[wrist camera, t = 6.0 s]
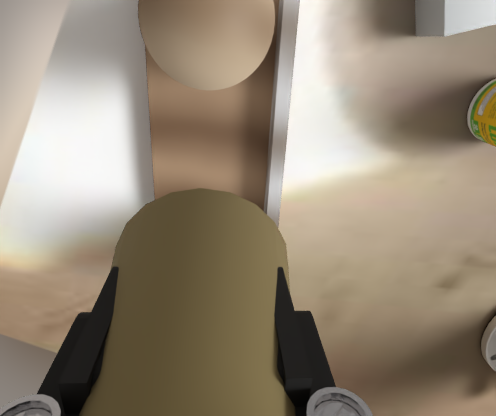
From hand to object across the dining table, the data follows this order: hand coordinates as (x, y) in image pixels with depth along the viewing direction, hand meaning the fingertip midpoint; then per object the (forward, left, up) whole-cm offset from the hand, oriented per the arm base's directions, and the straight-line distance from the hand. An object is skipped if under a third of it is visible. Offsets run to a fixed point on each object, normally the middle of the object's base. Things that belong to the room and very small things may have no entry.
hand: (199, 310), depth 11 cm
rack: (0, 0, -21) cm, 21 cm away
